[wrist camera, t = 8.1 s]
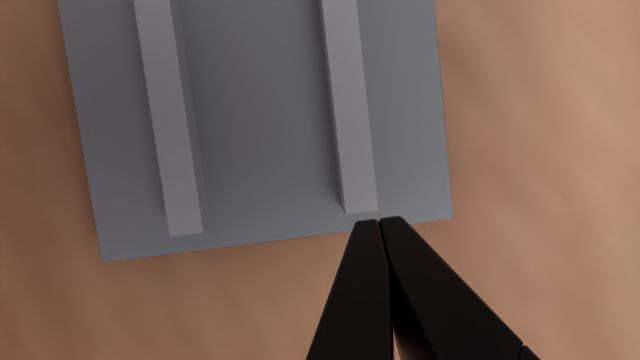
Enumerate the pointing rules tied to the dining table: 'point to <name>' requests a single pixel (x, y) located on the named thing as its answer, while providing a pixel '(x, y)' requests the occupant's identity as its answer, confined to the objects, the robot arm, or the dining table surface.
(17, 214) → the dining table surface
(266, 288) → the dining table surface
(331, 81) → the lock plate
